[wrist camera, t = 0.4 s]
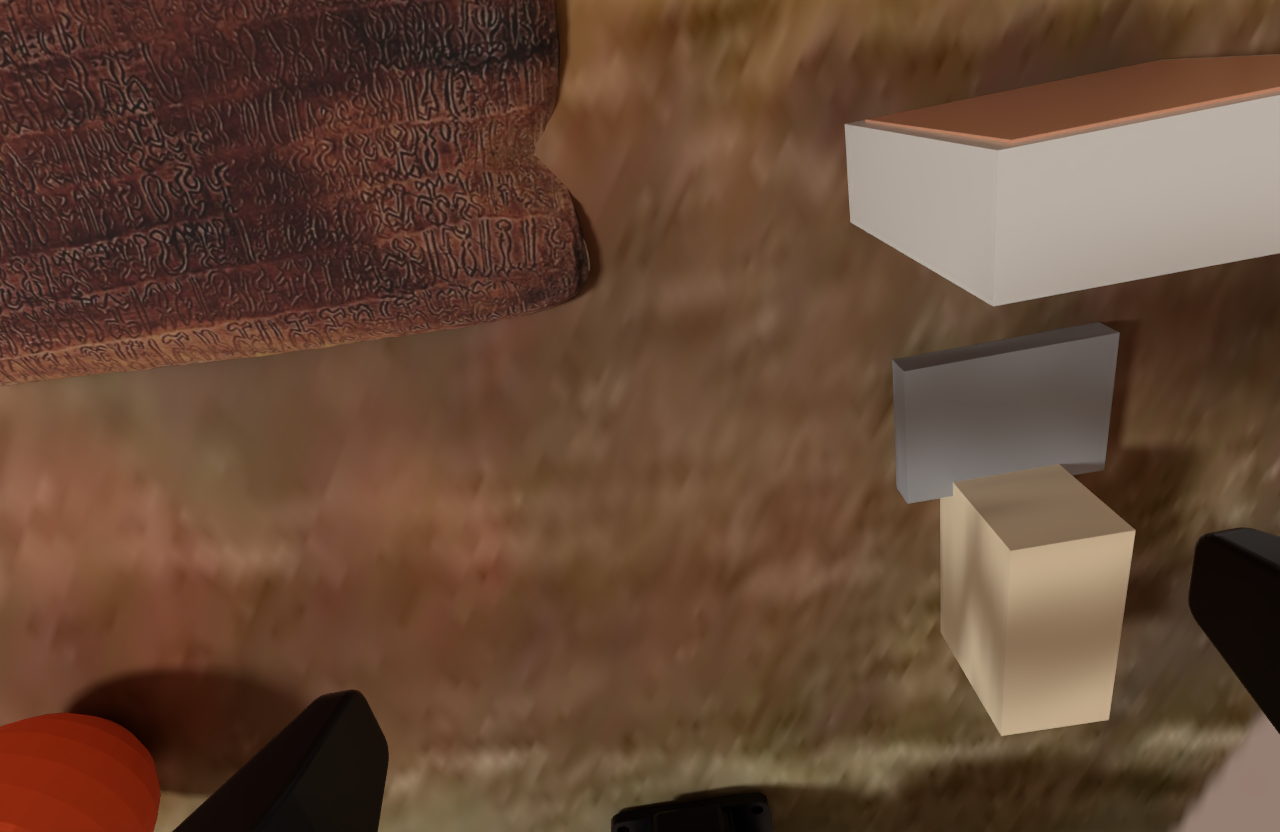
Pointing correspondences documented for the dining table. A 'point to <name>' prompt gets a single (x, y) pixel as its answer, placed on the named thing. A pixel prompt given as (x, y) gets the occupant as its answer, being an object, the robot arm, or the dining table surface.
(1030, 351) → the two-tone stacked block
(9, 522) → the dining table surface
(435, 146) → the wooden tablet
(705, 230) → the dining table surface
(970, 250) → the tile
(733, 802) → the robot arm
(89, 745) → the clementine
